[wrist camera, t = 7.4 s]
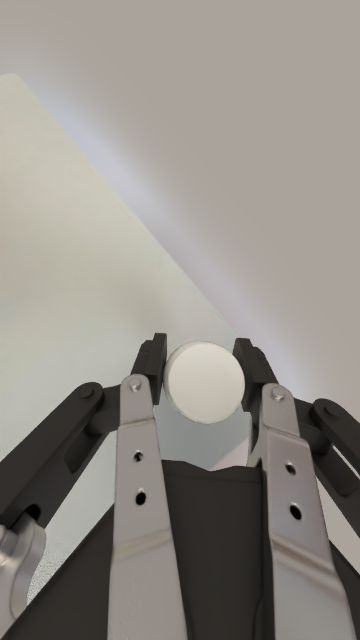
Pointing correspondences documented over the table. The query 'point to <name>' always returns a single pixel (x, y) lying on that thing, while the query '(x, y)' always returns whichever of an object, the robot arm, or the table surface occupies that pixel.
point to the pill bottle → (203, 382)
